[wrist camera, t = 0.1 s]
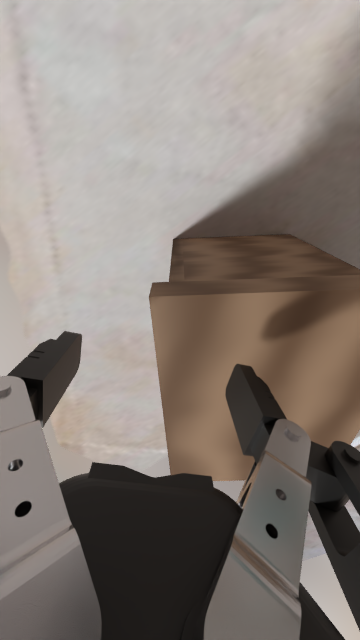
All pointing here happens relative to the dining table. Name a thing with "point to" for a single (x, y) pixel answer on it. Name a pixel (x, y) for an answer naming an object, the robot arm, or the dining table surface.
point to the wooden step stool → (254, 343)
